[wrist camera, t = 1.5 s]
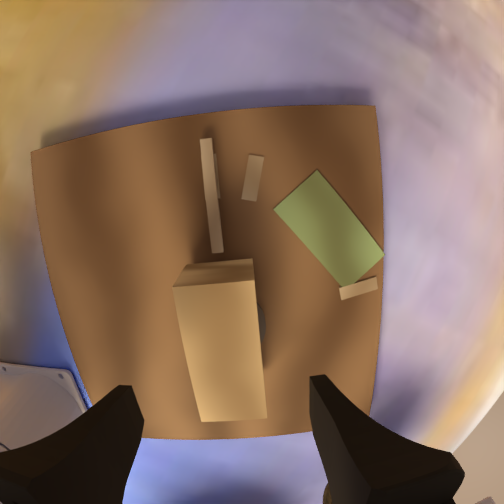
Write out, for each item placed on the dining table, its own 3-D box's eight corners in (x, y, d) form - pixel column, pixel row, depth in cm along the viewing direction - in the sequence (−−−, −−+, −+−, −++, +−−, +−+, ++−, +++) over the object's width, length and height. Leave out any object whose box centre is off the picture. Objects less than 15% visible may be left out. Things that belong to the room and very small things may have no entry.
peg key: (202, 379, 20) (194, 421, 16) (167, 145, 16) (143, 138, 12) (269, 374, 20) (274, 417, 16) (248, 135, 16) (249, 123, 12)
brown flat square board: (110, 425, 22) (105, 435, 21) (40, 152, 17) (29, 152, 16) (364, 411, 22) (369, 421, 21) (368, 109, 17) (377, 105, 16)
